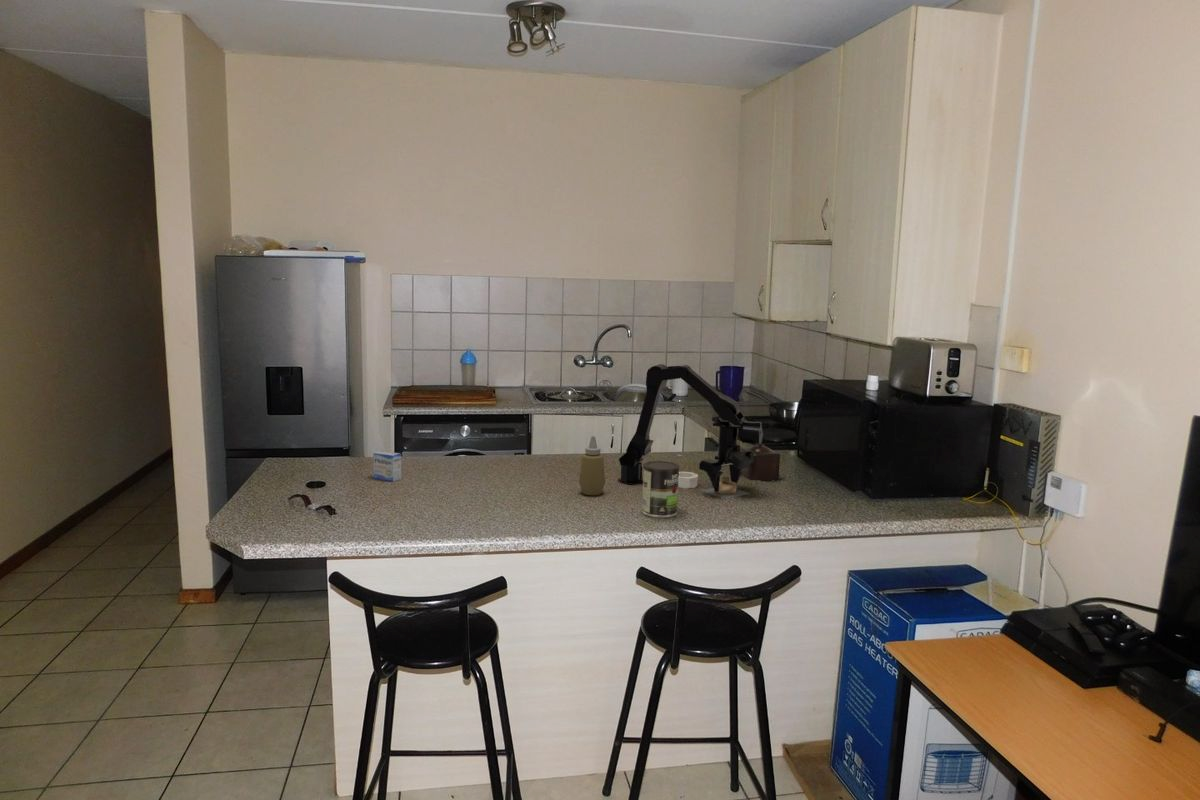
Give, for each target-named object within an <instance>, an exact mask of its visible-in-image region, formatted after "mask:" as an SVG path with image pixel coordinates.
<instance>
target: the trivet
mask: <svg viewBox="0 0 1200 800" xmlns="http://www.w3.org/2000/svg"><path fill="white" fill-rule="evenodd" d="M699 491H701V492H702V493H706V494H709V495H711V496H715V497H718V498H721V499H723V500H727V499H732V498H737V497H740V496H745V495H751V492H747V491H743V490H741V489H737V488H736V494H733V495H721V494H717V493H715V492H714V487H710V488H706V489H705V488H704V489H700V490H699Z"/></svg>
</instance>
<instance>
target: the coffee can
mask: <svg viewBox="0 0 1200 800" xmlns="http://www.w3.org/2000/svg"><path fill="white" fill-rule="evenodd" d="M642 465H643V466H642V468H643V474H642V480H643V482H642V504H641V505H642V507H641V508H642V510H641V513H642V514H643V515H646V516H648V517H651V518H658V519H659V518H661V519H662V518H663V519H664V518H673V517H676V515H677V514H678V499H679V487H678V479H679V472H680V465H679V464H678V463H676V462H672V461H665V460H655V461H654V460H651V461H647V462H644V463H642Z"/></svg>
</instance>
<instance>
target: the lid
mask: <svg viewBox="0 0 1200 800" xmlns="http://www.w3.org/2000/svg"><path fill="white" fill-rule="evenodd" d="M737 485H738V483H737V484H736V483H735V482H732V481H731V480H730V477H728V476H723V477H722V478H721V479H720V482H719V489H718V492H717V491H715V490H714V492H715V493H717V494H721V495H733V494H736V489H737Z"/></svg>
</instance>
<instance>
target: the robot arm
mask: <svg viewBox="0 0 1200 800" xmlns="http://www.w3.org/2000/svg"><path fill="white" fill-rule="evenodd" d="M645 375H646V378H645V388H646V393H645V397H644V400H643V404H642V407H641V412H640V415H639V418H638V423H637V426H636V427H637V428H636V430H635V433H634V434H633V436H632V438H631V439H630V441H629V443H628V445H627V448H626V450H625V453H624V454H623V455H622V456H621V457H619V458H618V460H619V461H618V462H619V464H620V478H617V481H618V480H619V482H622V483H624V484H627V485H635V484H641V483H643V466H642V465H643V463H642V462H643V461H644V458H645V457H647V455H648V454H650V453H651V452H652V446H653V443H654V440H653V439H651V438H650V434H651V433H650V432H651V428H652V425H653V421H654V418H655V414H656V411H657V406H658V403H659V400H660V395H661V393H662V391H663V390H664V389H665V388H664V387H665V386H666V385H667V382H668V381H669V380H671V381H672V380H676V379H681V380H683V381H684V382H685V383H686V384H687V385H688V386H689V387H690V388H692V389H693V390H694V391H695V392H696V393H697V394H699V395H700V396H701V397H702V398H704V400H705V401H707V402H708V403H709V404H710V406H711V408H712V409H713V410H714V412H715V413H716V414H717V415H718V417H719V418H717V419H716V420H715V422H713V423H712V426H714V427H718V442H715V447H716V448H717V455H714V459H711V458H707V459H702V460H700V461H699V464H698V465H699V467H698V469H699V470H701V471H704V472H705V473H706V475H707V476H708V477H709V480H710V482H711V485H712V488H714V490H715V491H717V492H718V489H719V482H720V480H721V479H720V478H721V475H723V473H724V472H723V471H721V470H722V467H727V466H729V476H730V477H729V478H730V481H732V482H735V483H736V484H737V485H738V482H739V480H740V477H741V476H742V475H741V473H742V472H743V471H744V470H745V469H747V468H749V466H751V465H753V462H754V461H753V460H754V453H753V452H752V451H747V452H746V453H745V452H742V451H740V448H741V446H740V444H738V440H737V433H738V438H739V439H740V440H741V441H740V442H741V443H745V444H754V445H755V444H761V442H762V443H763V437H764V431H762V430H763V427H762V423H763V422H761V421H747V419H746V418H745V416H744V414H743V413H742V411H741V405H740V404H739V402H738V401H736V400H735V399H733V398H731V397H730V396H728V395H725V394H723V393H721V392H719V391H718V390H717V389H716V388H715V387H713V385H711V384H710V383H709V382H707V381H706V380H705V379H704V378H703V377H702V376H700V375H699V374H698V373H697V372H696V371H694V370H693V368H691V366H690V365H688V364H682V365H671V366H667V365H665V364H662V363H660V364H659V363H658V364H656V365H653V366H651V367H649V368H648V369H647V372H646V374H645ZM738 428H739V430H738Z"/></svg>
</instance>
